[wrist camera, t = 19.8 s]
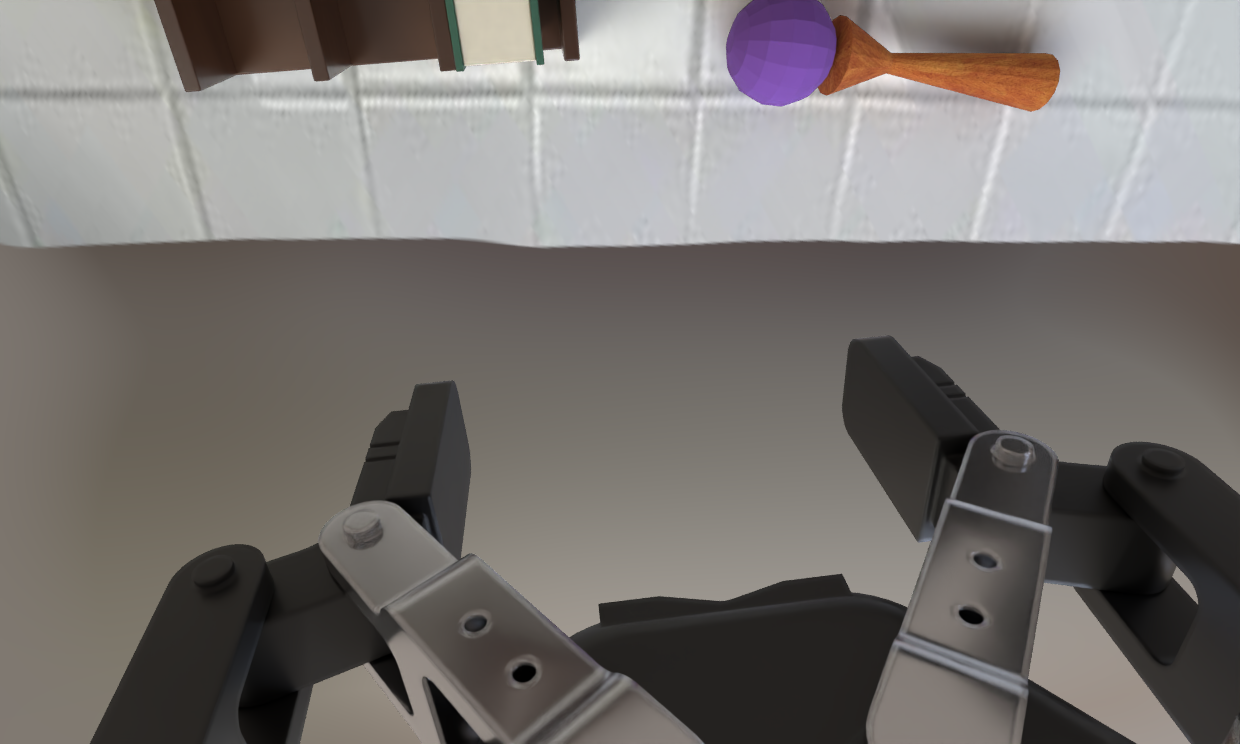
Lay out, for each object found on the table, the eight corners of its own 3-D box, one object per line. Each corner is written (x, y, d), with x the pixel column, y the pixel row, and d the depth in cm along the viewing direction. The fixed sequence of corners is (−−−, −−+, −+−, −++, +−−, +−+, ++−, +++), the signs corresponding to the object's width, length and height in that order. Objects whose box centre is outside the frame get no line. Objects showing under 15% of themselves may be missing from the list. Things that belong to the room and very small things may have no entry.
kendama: (1040, 150, 45) (730, 116, 40) (989, 111, 49) (704, 77, 45) (1097, 48, 41) (761, -1, 37) (1035, 16, 45) (729, -31, 41)
